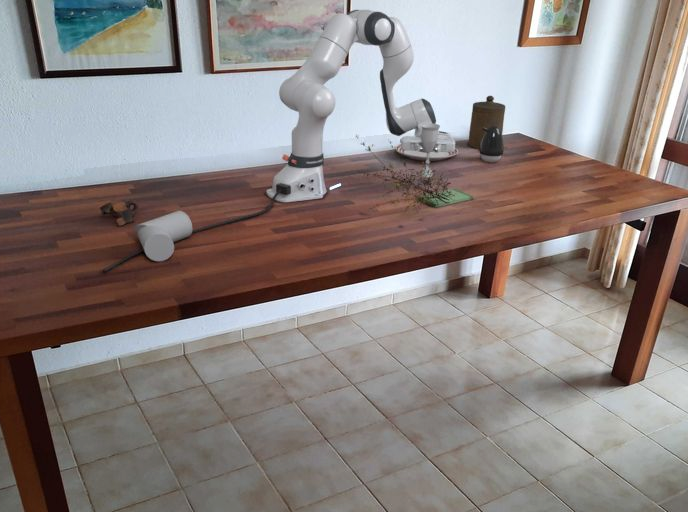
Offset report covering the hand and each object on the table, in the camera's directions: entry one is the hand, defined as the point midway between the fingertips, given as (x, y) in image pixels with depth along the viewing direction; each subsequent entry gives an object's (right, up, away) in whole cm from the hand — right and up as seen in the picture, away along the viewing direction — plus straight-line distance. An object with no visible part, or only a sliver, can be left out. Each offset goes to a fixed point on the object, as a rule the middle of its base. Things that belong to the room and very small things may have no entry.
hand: (428, 150), depth 255 cm
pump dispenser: (+31, +8, +46) cm, 56 cm away
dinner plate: (+4, +12, +50) cm, 51 cm away
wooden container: (+33, +21, +68) cm, 78 cm away
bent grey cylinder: (-84, -42, -43) cm, 104 cm away
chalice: (0, -8, +6) cm, 10 cm away
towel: (+6, -18, +1) cm, 19 cm away
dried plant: (-11, -30, -19) cm, 37 cm away
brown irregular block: (-104, -31, -26) cm, 111 cm away
